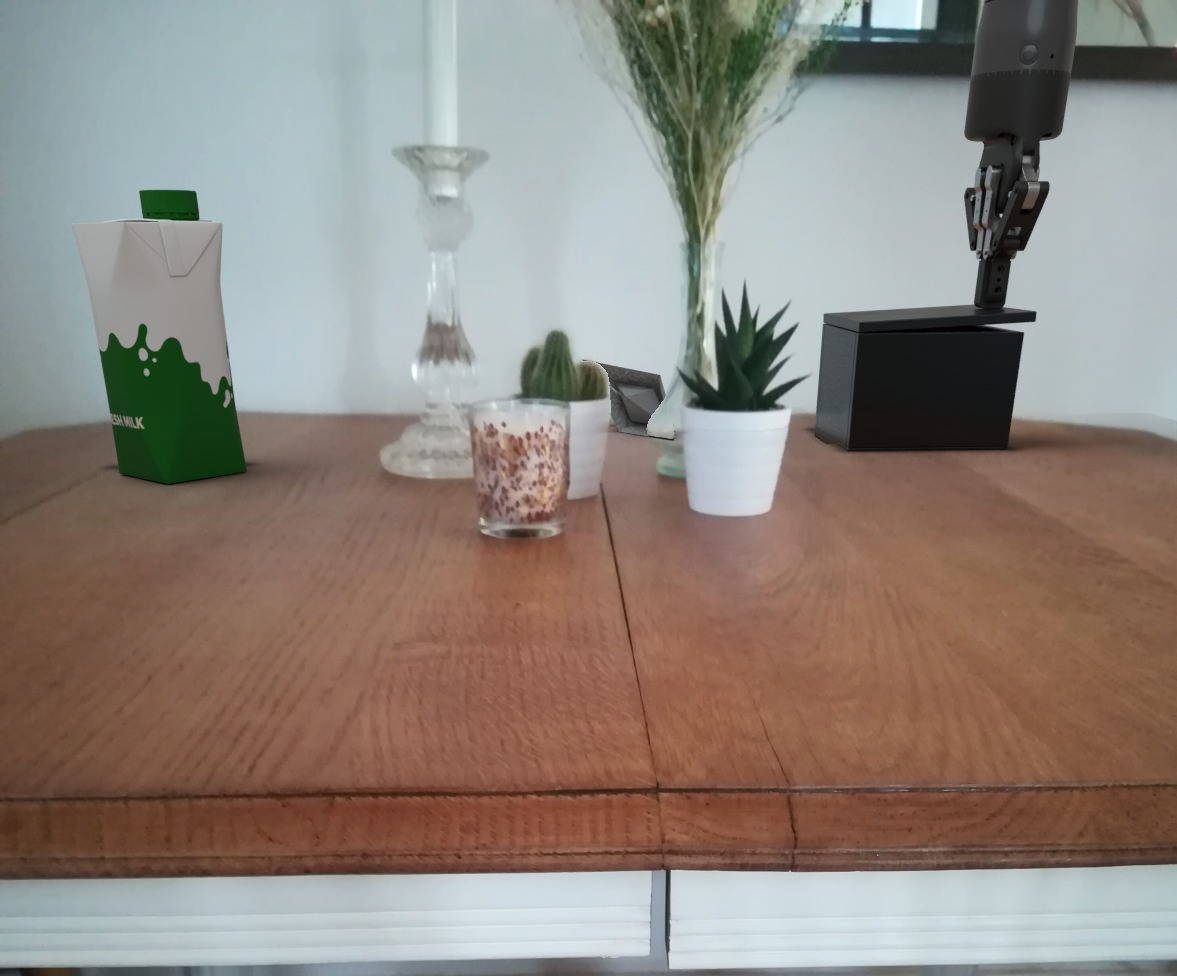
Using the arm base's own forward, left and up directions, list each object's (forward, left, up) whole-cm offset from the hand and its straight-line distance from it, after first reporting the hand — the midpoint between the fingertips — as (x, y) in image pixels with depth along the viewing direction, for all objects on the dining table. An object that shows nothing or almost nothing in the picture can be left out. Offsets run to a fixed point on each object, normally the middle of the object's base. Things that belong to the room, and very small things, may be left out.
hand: (988, 307), depth 99 cm
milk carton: (+67, +10, -12) cm, 69 cm away
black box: (+6, 0, -11) cm, 13 cm away
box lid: (+5, 0, -1) cm, 6 cm away
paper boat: (+30, -9, -12) cm, 33 cm away
